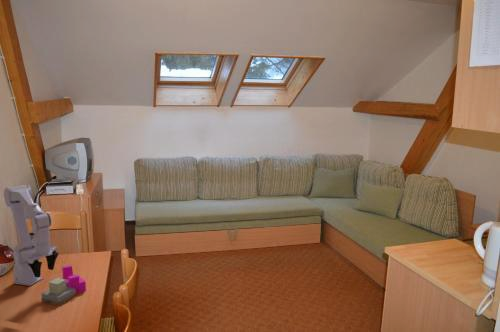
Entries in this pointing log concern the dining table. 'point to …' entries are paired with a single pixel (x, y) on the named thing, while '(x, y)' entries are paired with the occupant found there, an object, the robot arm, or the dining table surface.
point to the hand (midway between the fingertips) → (44, 273)
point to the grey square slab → (57, 302)
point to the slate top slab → (58, 295)
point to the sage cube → (57, 286)
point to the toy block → (73, 279)
